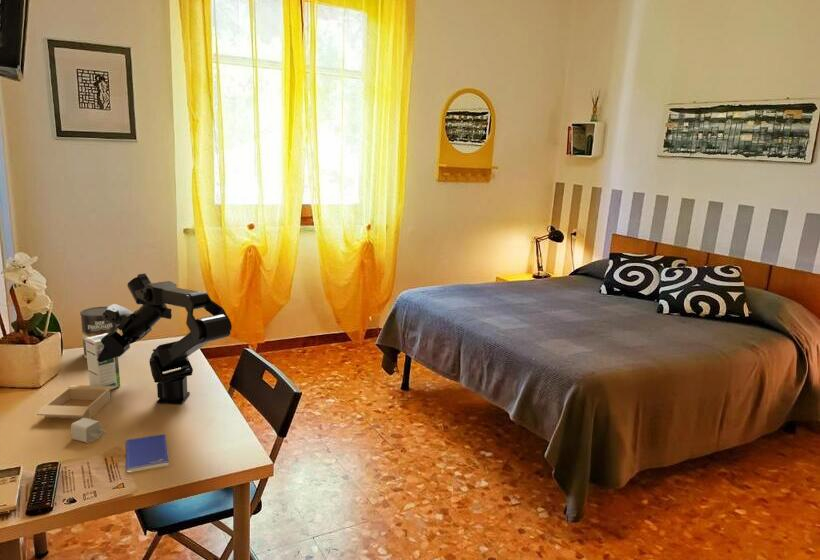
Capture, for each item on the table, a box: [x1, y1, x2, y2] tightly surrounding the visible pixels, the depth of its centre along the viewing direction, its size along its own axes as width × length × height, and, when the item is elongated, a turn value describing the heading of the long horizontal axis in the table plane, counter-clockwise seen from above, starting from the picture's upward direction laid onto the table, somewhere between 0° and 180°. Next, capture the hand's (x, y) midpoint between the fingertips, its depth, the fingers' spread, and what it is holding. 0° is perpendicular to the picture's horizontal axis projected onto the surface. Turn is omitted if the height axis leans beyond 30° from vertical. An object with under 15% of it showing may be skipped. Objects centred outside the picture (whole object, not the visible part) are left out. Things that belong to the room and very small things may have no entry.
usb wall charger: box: [70, 418, 107, 444], centre depth 128 cm, size 4×7×4 cm, turn 71°
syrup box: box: [85, 333, 121, 389], centre depth 153 cm, size 6×6×14 cm
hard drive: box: [125, 434, 170, 473], centre depth 124 cm, size 2×8×12 cm
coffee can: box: [80, 306, 120, 359], centre depth 176 cm, size 10×10×14 cm
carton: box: [36, 384, 116, 420], centre depth 142 cm, size 11×16×3 cm, turn 2°
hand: (106, 354), depth 153 cm, fingers open, 9 cm apart
